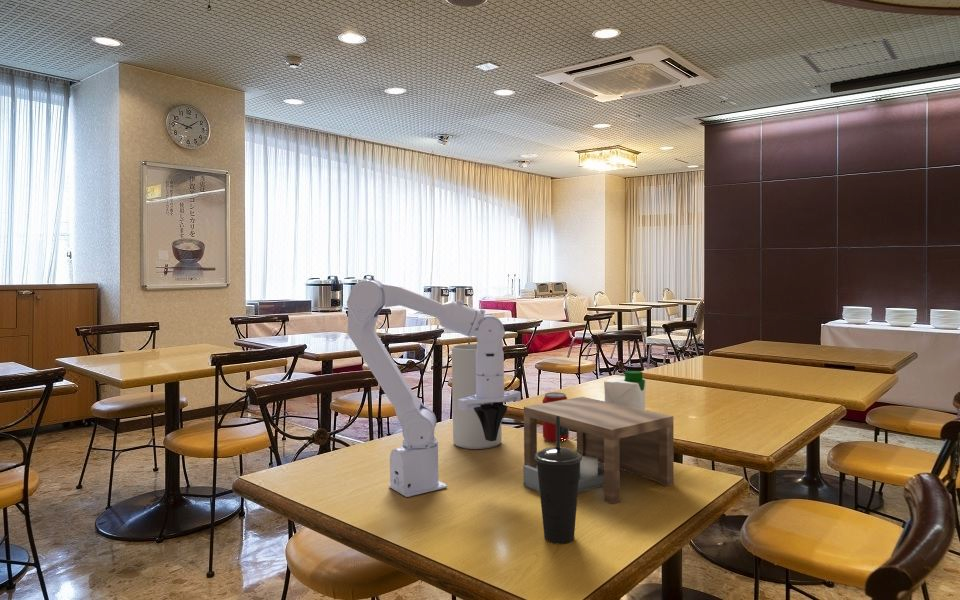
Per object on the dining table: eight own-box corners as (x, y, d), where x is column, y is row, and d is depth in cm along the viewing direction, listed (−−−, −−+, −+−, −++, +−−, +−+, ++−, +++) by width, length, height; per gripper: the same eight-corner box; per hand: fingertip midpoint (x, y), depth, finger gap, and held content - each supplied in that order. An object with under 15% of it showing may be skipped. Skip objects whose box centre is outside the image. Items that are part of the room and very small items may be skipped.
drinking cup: (551, 524, 106) (550, 409, 105) (591, 535, 101) (590, 415, 100) (526, 539, 100) (525, 417, 99) (566, 552, 95) (565, 424, 95)
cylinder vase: (480, 434, 167) (479, 342, 166) (511, 443, 158) (510, 346, 157) (443, 442, 159) (441, 346, 158) (473, 453, 150) (472, 350, 149)
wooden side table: (612, 503, 115) (611, 429, 115) (524, 469, 136) (523, 406, 136) (673, 484, 125) (673, 416, 125) (582, 454, 147) (582, 396, 146)
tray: (556, 499, 118) (556, 472, 118) (523, 485, 126) (523, 460, 126) (614, 482, 127) (614, 457, 127) (580, 470, 135) (579, 446, 135)
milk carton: (638, 462, 140) (638, 375, 140) (600, 456, 145) (599, 372, 144) (649, 452, 148) (648, 370, 147) (612, 447, 153) (612, 367, 152)
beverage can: (570, 443, 157) (570, 396, 157) (543, 443, 157) (543, 396, 157) (567, 436, 164) (566, 391, 163) (541, 436, 164) (541, 391, 163)
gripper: (471, 380, 118) (472, 450, 118) (529, 372, 126) (530, 438, 127) (451, 375, 124) (452, 442, 124) (508, 368, 132) (509, 431, 133)
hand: (490, 440), depth 126 cm, fingers closed
